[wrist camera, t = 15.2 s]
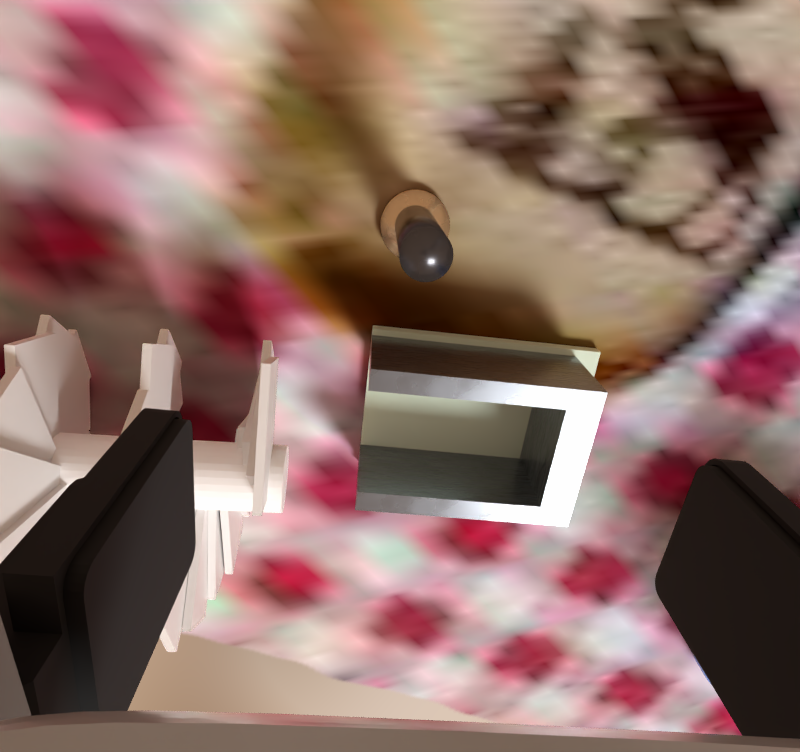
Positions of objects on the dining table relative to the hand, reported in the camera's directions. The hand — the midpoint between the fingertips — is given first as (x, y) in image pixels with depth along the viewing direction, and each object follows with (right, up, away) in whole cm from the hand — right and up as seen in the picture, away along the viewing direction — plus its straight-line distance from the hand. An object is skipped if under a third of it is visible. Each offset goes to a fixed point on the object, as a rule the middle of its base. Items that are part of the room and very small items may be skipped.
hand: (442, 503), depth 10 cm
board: (+5, 0, +31) cm, 31 cm away
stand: (0, +12, +26) cm, 28 cm away
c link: (+4, 0, +30) cm, 30 cm away
